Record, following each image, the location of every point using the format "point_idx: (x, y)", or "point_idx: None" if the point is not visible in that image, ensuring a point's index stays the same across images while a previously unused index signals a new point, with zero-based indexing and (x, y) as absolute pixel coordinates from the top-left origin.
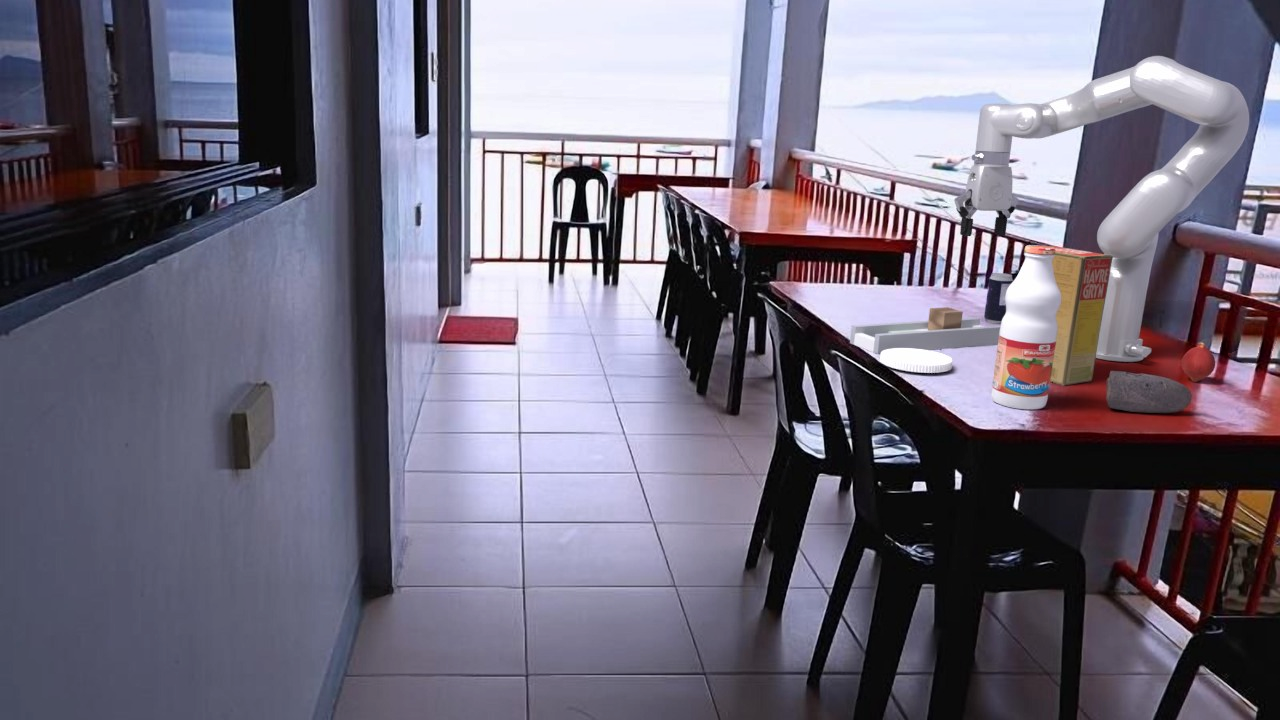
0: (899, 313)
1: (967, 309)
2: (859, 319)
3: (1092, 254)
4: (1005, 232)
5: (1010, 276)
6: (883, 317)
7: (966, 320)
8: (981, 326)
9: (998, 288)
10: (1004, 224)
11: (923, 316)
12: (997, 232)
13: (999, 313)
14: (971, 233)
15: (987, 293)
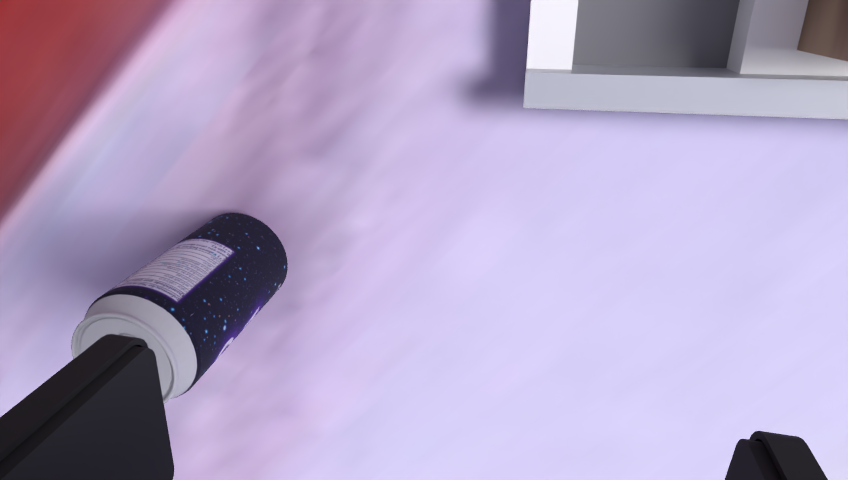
0: (531, 477)
1: (218, 434)
2: None
3: None
4: (87, 351)
5: (100, 314)
6: (657, 454)
7: (623, 75)
8: (540, 39)
9: (202, 298)
10: (19, 449)
11: (475, 413)
12: (151, 446)
13: (246, 233)
14: (757, 456)
15: (234, 337)
